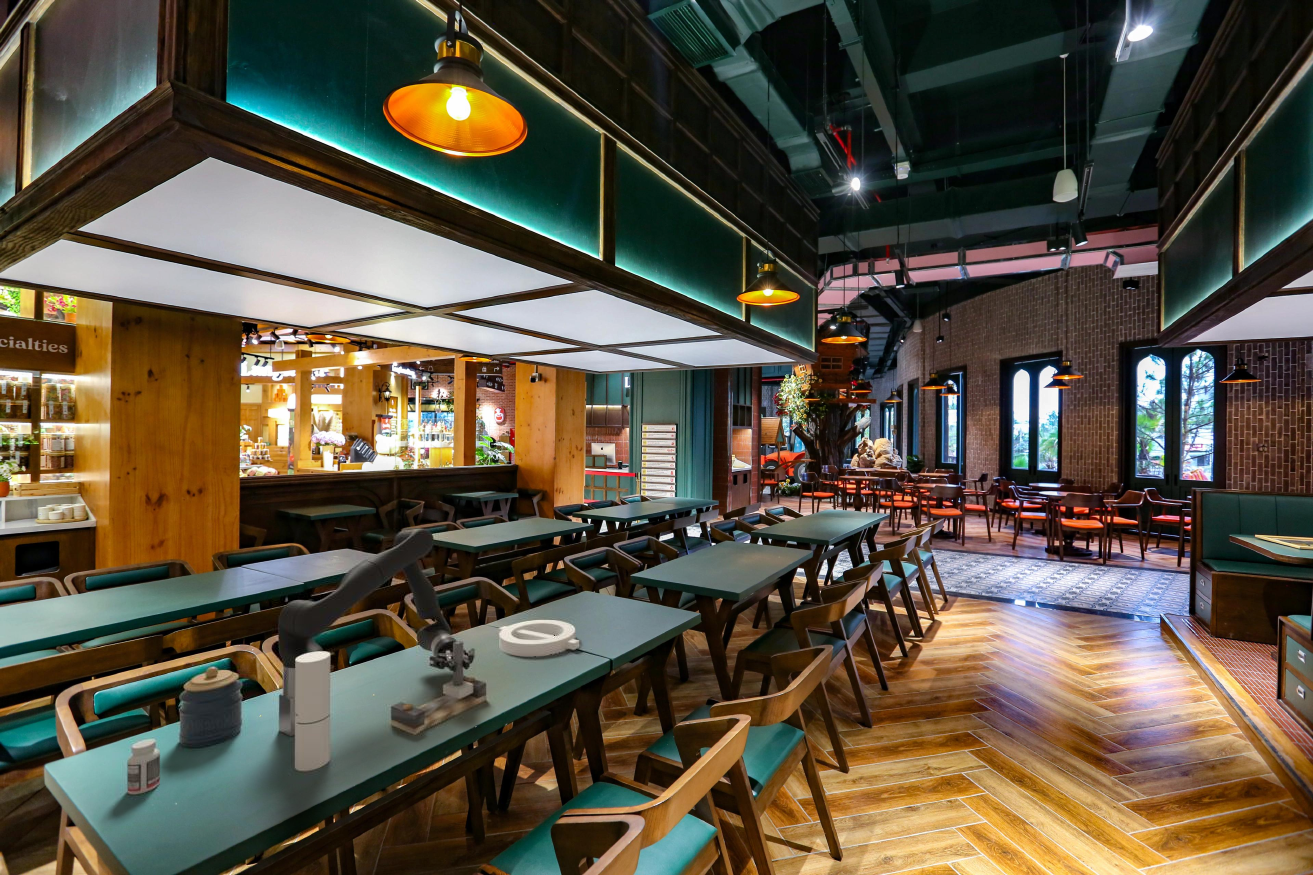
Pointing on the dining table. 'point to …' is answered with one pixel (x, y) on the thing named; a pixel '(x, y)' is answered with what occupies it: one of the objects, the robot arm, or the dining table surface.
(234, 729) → the canister
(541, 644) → the white circle with bar
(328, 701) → the cylindrical container
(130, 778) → the pill bottle
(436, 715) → the rail
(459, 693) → the carriage
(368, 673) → the dining table surface
